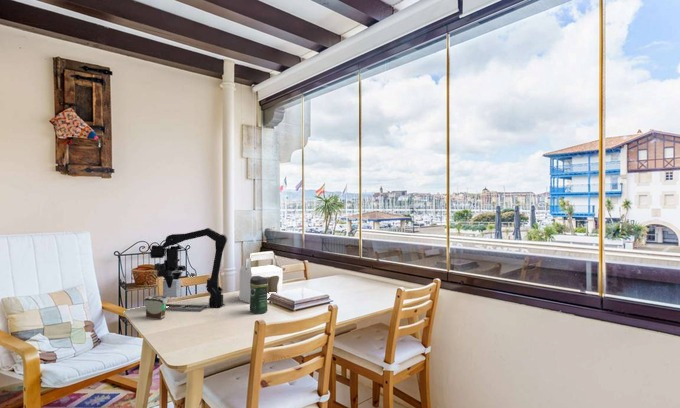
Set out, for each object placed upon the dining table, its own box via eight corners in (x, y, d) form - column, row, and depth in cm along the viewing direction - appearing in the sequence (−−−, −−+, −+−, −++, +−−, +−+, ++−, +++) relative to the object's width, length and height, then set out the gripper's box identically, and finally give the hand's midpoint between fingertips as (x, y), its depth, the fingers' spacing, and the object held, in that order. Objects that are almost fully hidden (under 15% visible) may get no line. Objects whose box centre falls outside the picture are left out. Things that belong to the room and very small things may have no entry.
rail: (207, 307, 198) (207, 305, 198) (200, 311, 190) (200, 309, 190) (164, 306, 200) (164, 303, 200) (156, 310, 192) (156, 307, 192)
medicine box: (181, 295, 197) (181, 279, 197) (176, 297, 193) (176, 281, 193) (167, 295, 198) (167, 279, 198) (162, 297, 193) (162, 280, 193)
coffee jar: (269, 312, 190) (270, 276, 190) (256, 315, 185) (256, 278, 185) (260, 308, 197) (261, 274, 197) (247, 310, 192) (247, 275, 192)
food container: (173, 316, 181) (173, 296, 181) (163, 320, 175) (163, 299, 175) (153, 313, 185) (154, 294, 185) (143, 317, 179) (144, 297, 179)
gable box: (250, 304, 206) (251, 254, 206) (238, 299, 215) (239, 252, 215) (282, 297, 222) (283, 251, 222) (270, 293, 231) (270, 249, 231)
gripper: (167, 255, 205) (167, 282, 205) (147, 260, 187) (147, 290, 187) (186, 255, 204) (186, 283, 204) (168, 260, 186) (167, 290, 186)
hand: (171, 286), depth 195 cm, fingers closed on medicine box, 4 cm apart
